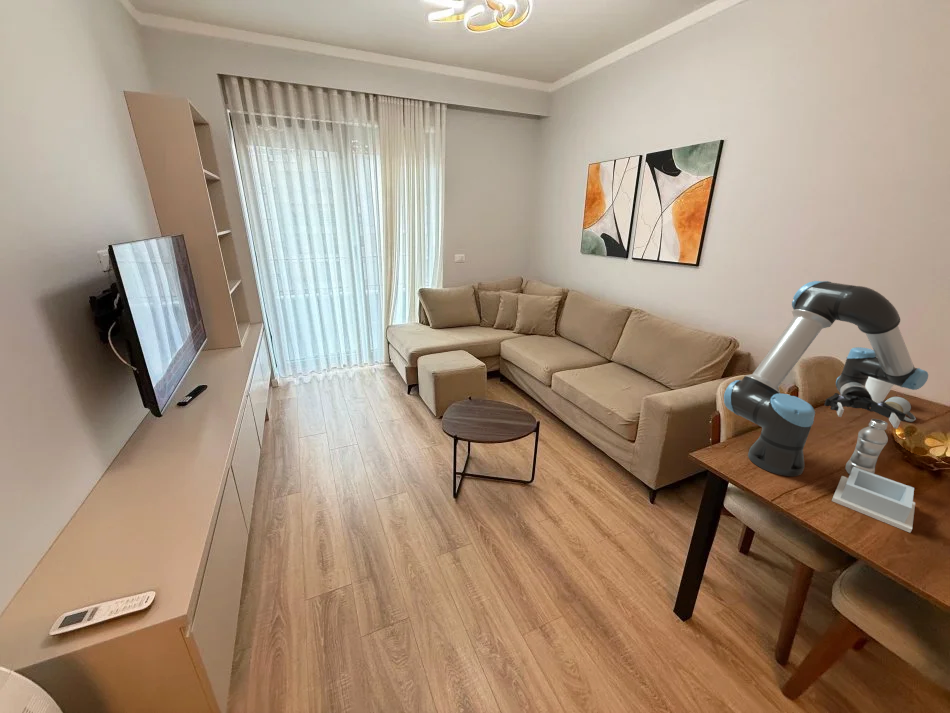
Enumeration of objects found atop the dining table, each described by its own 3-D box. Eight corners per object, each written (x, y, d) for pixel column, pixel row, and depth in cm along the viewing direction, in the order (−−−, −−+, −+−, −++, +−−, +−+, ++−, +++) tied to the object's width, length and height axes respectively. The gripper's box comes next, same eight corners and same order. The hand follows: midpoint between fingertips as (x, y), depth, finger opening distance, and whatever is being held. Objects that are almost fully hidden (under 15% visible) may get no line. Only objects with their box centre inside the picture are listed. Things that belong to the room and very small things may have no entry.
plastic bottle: (862, 484, 121) (886, 428, 114) (838, 471, 127) (859, 417, 120) (876, 480, 123) (900, 425, 116) (851, 468, 129) (873, 415, 122)
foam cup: (853, 397, 181) (863, 371, 177) (866, 395, 184) (876, 369, 180) (878, 406, 173) (889, 379, 168) (891, 403, 175) (902, 377, 171)
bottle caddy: (831, 500, 113) (838, 483, 111) (840, 478, 123) (847, 462, 121) (910, 532, 102) (919, 514, 100) (913, 505, 112) (922, 488, 110)
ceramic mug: (876, 413, 166) (883, 397, 163) (882, 409, 170) (889, 393, 167) (910, 424, 157) (918, 408, 155) (917, 420, 161) (925, 403, 159)
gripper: (898, 413, 138) (918, 440, 122) (809, 396, 152) (816, 418, 135) (906, 394, 136) (927, 419, 119) (815, 378, 149) (822, 399, 133)
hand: (868, 418), depth 127 cm, fingers open, 13 cm apart
